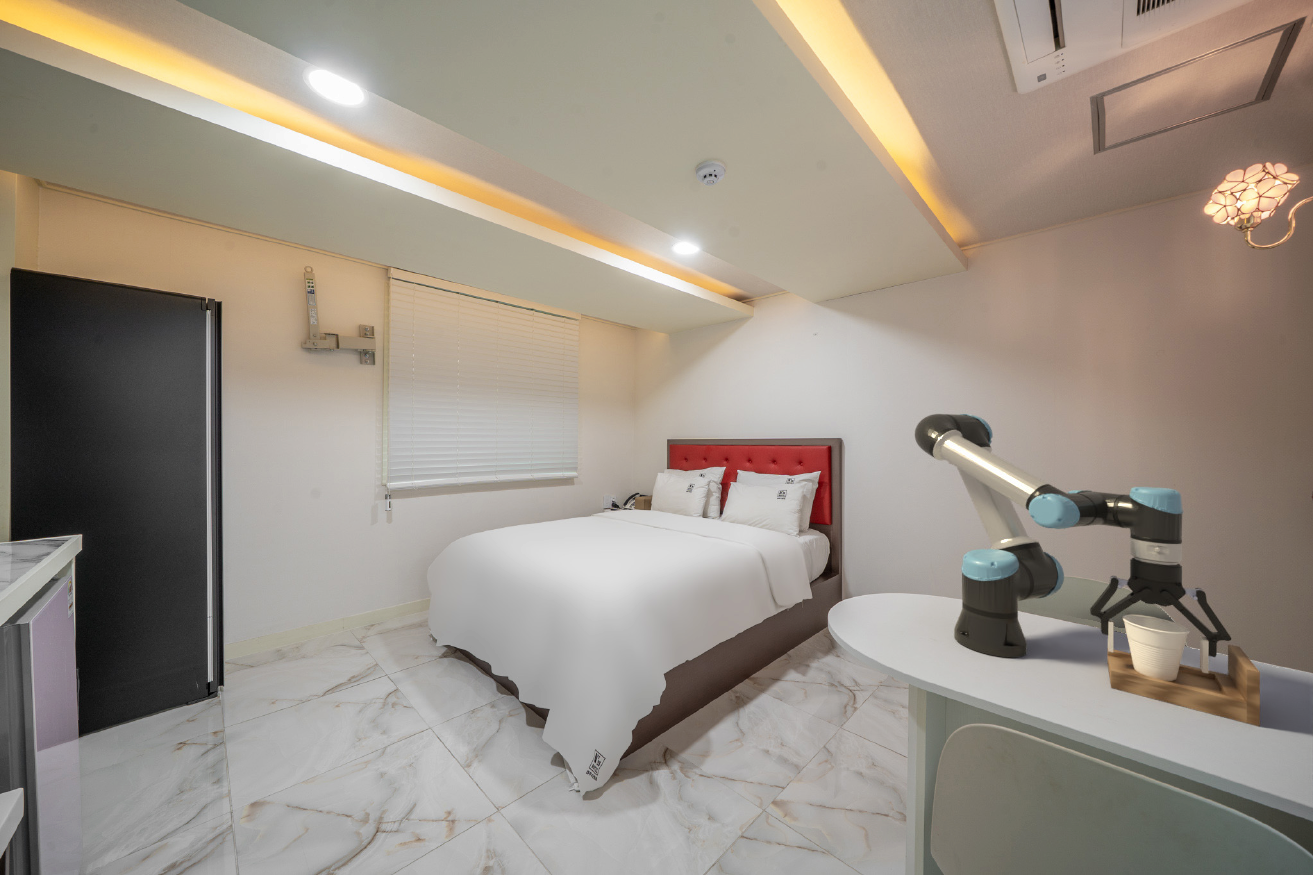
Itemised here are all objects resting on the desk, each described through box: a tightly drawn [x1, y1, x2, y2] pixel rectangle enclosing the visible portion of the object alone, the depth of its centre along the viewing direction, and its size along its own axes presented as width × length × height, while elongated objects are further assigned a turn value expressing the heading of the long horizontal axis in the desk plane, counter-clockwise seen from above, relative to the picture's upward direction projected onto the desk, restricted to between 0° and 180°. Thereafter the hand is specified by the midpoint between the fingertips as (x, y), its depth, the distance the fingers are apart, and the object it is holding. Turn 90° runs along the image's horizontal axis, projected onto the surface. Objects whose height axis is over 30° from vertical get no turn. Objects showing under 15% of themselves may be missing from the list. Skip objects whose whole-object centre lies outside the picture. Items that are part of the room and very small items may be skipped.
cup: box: [1121, 614, 1191, 681], centre depth 99 cm, size 10×10×11 cm
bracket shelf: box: [1106, 644, 1261, 727], centre depth 97 cm, size 20×14×10 cm
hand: (1155, 659), depth 99 cm, fingers open, 13 cm apart
